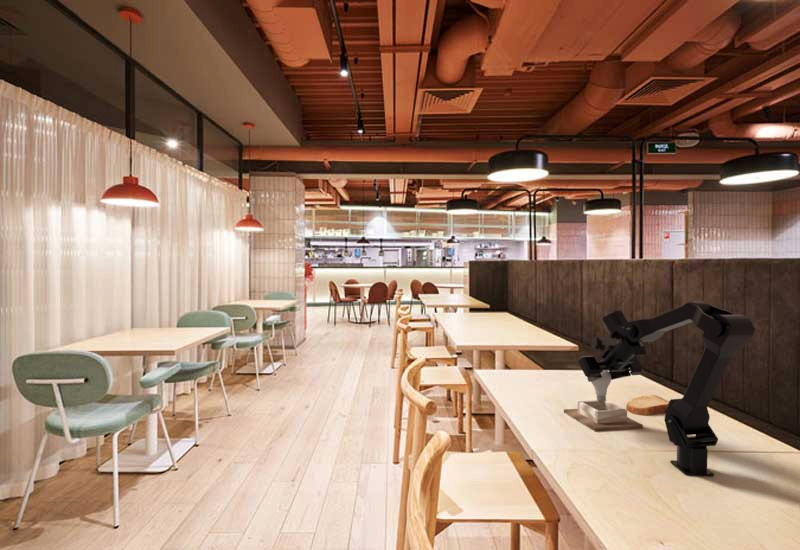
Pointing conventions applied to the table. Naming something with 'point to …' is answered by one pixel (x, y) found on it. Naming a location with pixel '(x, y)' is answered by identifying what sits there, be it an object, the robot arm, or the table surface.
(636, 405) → the slice of bread
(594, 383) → the lightbulb
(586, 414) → the socket board
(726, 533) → the table surface
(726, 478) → the table surface
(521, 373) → the table surface
